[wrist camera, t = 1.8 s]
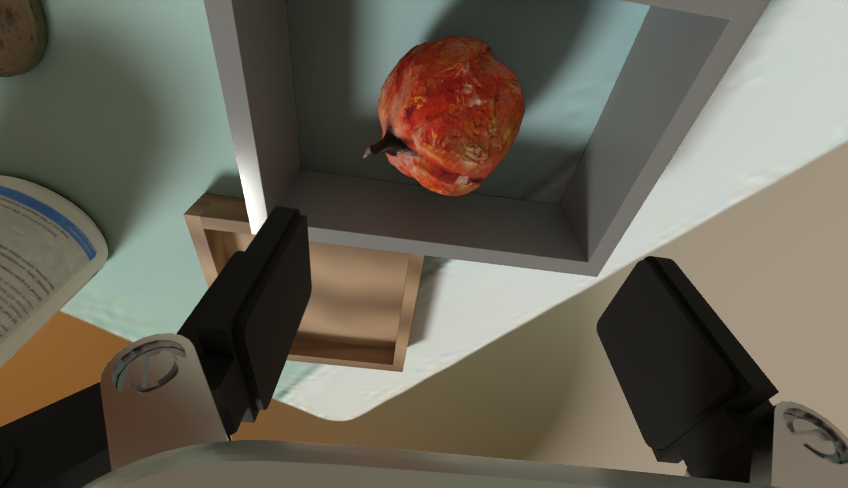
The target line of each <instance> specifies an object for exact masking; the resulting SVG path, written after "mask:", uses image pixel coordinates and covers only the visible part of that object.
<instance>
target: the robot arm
mask: <svg viewBox="0 0 848 488" xmlns="http://www.w3.org/2000/svg"><path fill="white" fill-rule="evenodd" d="M311 291H312V281H311V267H310V253H309V239H308V225H307V217H306V215H301V214H300V211H299V209H296V208H289V207H281V206H276V207H275V208H274V209H273V210H272V212H271V213H270V215H269V216H268V218H267V219H266V221H265V222H264V224H263V225H262V227H261V228H260V230H259V231H258V233H257V234H256V235H255V237H254V238H253V240H252V241H251V243H250V244H249V246H248V247H247V249H246V250H245V251H237V252H235V253H234V254H233V255H232V256H231V258H230V259H229V261H228V262H227V263H226V265H225V266H224V268H223V269H222V271H221V272H220V273H219V275H218V276H217V278H216V279H215V280H214V282H213V283H212V285H211V286H210V287H209V289H208V290H207V292H206V293H205V294H204V296H203V297H202V299H201V300H200V302H199V303H198V304H197V306H196V307H195V309H194V310H193V311H192V313H191V314H190V316H189V317H188V318H187V320H186V321H185V323H184V324H183V325H182V327H181V328H180V330H179V331H178V333H177V334H172V333H166V334H156V335H152V336H148V337H144V338H142V339H140V340H137V341H135V342H133V343H131V344H129V345H128V346H126V347H125V348H123V349H122V350H121V351H119V352H118V353H117V354H116V355H115V356H114V357H113V358H112V359H111V360H110V361H109V362H108V363H107V365H106V367H105V368H104V370H103V372H102V374H101V381H100V382H99V383H97V384H94V385H93V386H90V387H88V388H86V389H83V390H81V391H79V392H77V393H75V394H73V395H70V396H68V397H66V398H64V399H61V400H59V401H57V402H55V403H53V404H50V405H48V406H46V407H44V408H42V409H39V410H37V411H35V412H33V413H30V414H28V415H26V416H24V417H22V418H19V419H17V420H15V421H13V422H11V423H9V424H6V425H4V426H2V427H0V488H848V438H847V437H846V436H845V435H844V434H843V433H842V432H841V431H840V430H839V429H838V428H837V427H836V426H835V425H833V424H832V423H831V422H830V421H828V420H827V419H826V418H824V417H823V416H821V415H820V414H818V413H817V412H815V411H814V410H812V409H810V408H807V407H805V406H803V405H801V404H798V403H794V402H785V401H783V402H780V403H778V404H776V405H775V406H773V405H772V404H771V403H770V402H769V400H768V399H770V398H771V397H772V396H774V395H775V394H777V393H778V392H779V391H778V390H777V389H776V388H775V386H774V385H773V384H772V383H771V381H770V380H769V379H768V378H767V376H766V375H765V374H764V373H763V372H762V370H761V369H760V368H759V366H758V365H757V364H756V363H755V361H754V360H753V359H752V358H751V356H750V355H749V354H748V353H747V351H746V350H745V349H744V348H743V346H742V345H741V344H740V343H739V341H738V340H737V339H736V338H735V336H734V335H733V334H732V333H731V332H730V330H729V329H728V328H727V327H726V325H725V324H724V323H723V322H722V320H721V319H720V318H719V317H718V315H717V314H716V313H715V312H714V310H713V309H712V308H711V307H710V306H709V304H708V303H707V302H706V300H705V299H704V298H703V297H702V295H701V294H700V293H699V292H698V290H697V289H696V288H695V287H694V286H693V284H692V283H691V282H690V280H689V279H688V278H687V277H686V276H685V274H684V273H683V272H682V270H681V269H680V268H679V267H678V265H677V264H676V263H675V262H674V261H673V260H671V259H668V258H660V257H653V256H648V257H646V258H644V260H641V261H639V262H638V263H637V264H636V266H635V267H634V268H633V270H632V271H631V273H630V275H629V276H628V277H627V279H626V280H625V282H624V283H623V285H622V286H621V288H620V289H619V291H618V292H617V294H616V295H615V297H614V298H613V300H612V301H611V303H610V304H609V305H608V307H607V308H606V310H605V311H604V313H603V314H602V316H601V317H600V319H599V320H598V323H597V332H598V335H599V337H600V340H601V342H602V344H603V347H604V349H605V351H606V354H607V356H608V358H609V360H610V363H611V365H612V367H613V370H614V372H615V374H616V377H617V379H618V381H619V383H620V386H621V388H622V390H623V393H624V395H625V397H626V399H627V402H628V404H629V406H630V408H631V411H632V413H633V415H634V418H635V420H636V422H637V425H638V427H639V429H640V432H641V434H642V436H643V438H644V440H645V442H646V444H647V445H648V446H649V447H651V448H652V450H653V452H654V455H655V457H656V459H657V461H658V462H669V463H679V462H680V461H682V460H684V462H685V464H686V466H687V470H686V473H685V476H676V475H665V474H655V473H646V472H636V471H625V470H616V469H605V468H595V467H584V466H573V465H563V464H552V463H542V462H531V461H520V460H509V459H498V458H488V457H478V456H466V455H455V454H444V453H443V454H442V453H431V452H421V451H410V450H398V449H387V448H376V447H365V446H352V445H338V444H323V443H309V442H295V441H269V440H239V441H232V438H231V435H232V434H234V433H235V432H237V430H238V427H239V425H240V423H241V421H242V422H253V423H254V422H255V420H256V417H257V415H258V412H259V410H260V409H262V410H266V409H267V407H268V405H269V403H270V401H271V398H272V396H273V393H274V391H275V388H276V385H277V383H278V380H279V378H280V375H281V372H282V370H283V367H284V365H285V362H286V359H287V357H288V354H289V352H290V349H291V346H292V344H293V341H294V339H295V336H296V333H297V331H298V328H299V326H300V323H301V320H302V318H303V315H304V313H305V310H306V307H307V305H308V302H309V299H310V296H311Z"/></svg>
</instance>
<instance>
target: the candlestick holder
mask: <svg viewBox="0 0 848 488" xmlns="http://www.w3.org/2000/svg"><path fill="white" fill-rule="evenodd" d="M46 45H47V37H46V21H45V18H44V14H43V11H42V8H41V5H40V1H39V0H0V77H10V76H14V75H18V74H21V73H25V72H28V71H29V70H30V69H31V68H33V67H34V66H35V65H36V64H37V63H38V62H39V61H40V60H41V58H42V56H43V53H44V50H45V47H46Z"/></svg>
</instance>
